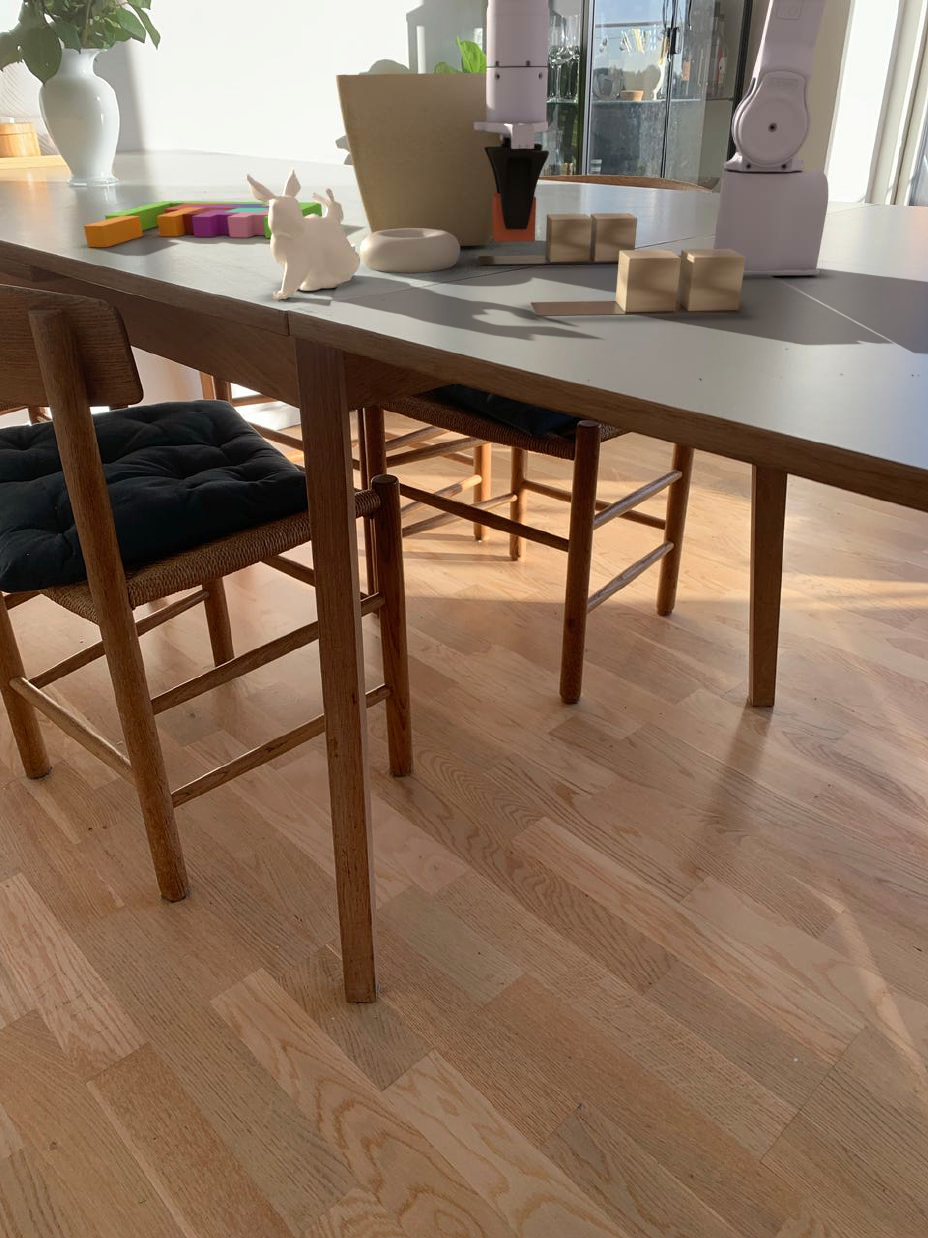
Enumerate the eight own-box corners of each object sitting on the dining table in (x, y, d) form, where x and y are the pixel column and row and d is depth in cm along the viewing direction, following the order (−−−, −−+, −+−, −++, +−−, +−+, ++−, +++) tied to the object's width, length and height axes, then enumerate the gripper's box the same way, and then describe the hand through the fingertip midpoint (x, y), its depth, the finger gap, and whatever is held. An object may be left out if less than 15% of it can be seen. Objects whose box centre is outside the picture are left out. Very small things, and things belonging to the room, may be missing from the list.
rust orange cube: (530, 235, 94) (531, 192, 92) (534, 241, 91) (536, 197, 89) (491, 235, 94) (492, 193, 92) (494, 241, 90) (495, 197, 88)
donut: (348, 277, 88) (449, 278, 86) (344, 239, 86) (447, 239, 85) (377, 260, 97) (469, 260, 95) (374, 225, 95) (468, 224, 93)
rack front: (721, 303, 76) (728, 247, 74) (739, 317, 72) (748, 257, 69) (529, 307, 75) (531, 250, 73) (536, 320, 71) (538, 260, 69)
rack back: (629, 257, 96) (633, 212, 94) (639, 265, 92) (643, 218, 90) (478, 260, 96) (478, 214, 93) (480, 268, 91) (480, 220, 89)
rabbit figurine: (280, 301, 78) (267, 176, 73) (225, 290, 82) (209, 171, 78) (378, 280, 86) (372, 166, 81) (324, 271, 90) (315, 162, 85)
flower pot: (347, 232, 114) (337, 75, 106) (498, 228, 116) (499, 74, 107) (347, 256, 98) (335, 73, 89) (522, 251, 100) (526, 72, 91)
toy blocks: (165, 218, 127) (69, 246, 106) (162, 200, 126) (65, 225, 105) (322, 220, 124) (256, 249, 102) (321, 202, 123) (253, 227, 101)
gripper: (470, 68, 91) (470, 216, 98) (478, 66, 78) (478, 236, 85) (541, 68, 91) (536, 215, 98) (560, 66, 79) (553, 235, 86)
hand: (514, 225), depth 92 cm, fingers closed on rust orange cube, 4 cm apart
